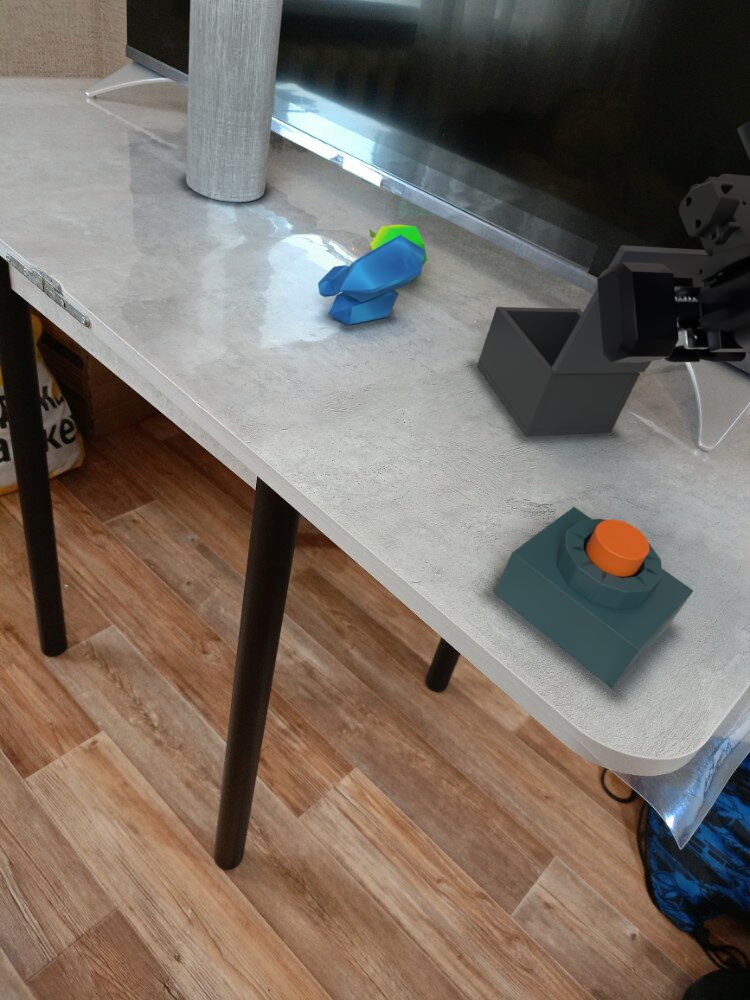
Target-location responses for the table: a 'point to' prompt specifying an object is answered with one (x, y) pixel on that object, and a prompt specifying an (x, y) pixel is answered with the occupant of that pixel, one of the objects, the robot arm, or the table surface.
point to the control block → (590, 597)
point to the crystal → (372, 281)
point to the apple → (393, 231)
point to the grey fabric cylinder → (231, 96)
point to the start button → (617, 548)
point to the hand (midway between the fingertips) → (638, 342)
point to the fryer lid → (586, 336)
